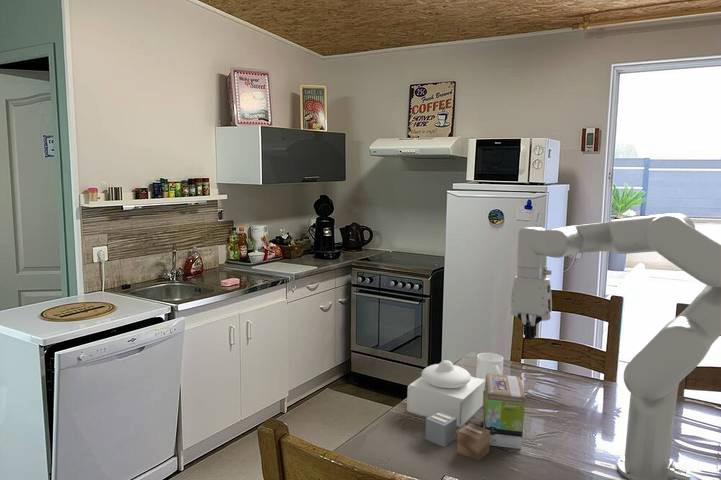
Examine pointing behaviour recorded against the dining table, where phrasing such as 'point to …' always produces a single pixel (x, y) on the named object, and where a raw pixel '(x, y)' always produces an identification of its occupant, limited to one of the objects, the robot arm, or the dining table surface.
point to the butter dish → (446, 392)
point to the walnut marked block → (473, 441)
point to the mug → (489, 365)
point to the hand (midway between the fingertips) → (529, 338)
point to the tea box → (504, 410)
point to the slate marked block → (441, 428)
